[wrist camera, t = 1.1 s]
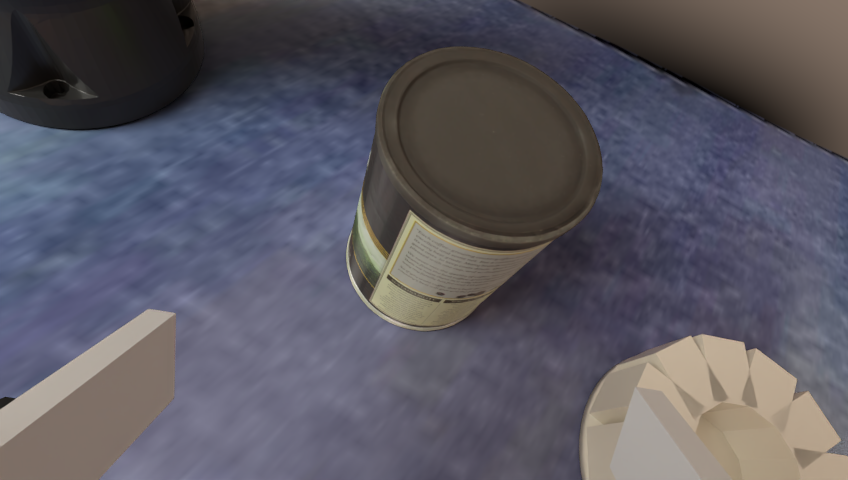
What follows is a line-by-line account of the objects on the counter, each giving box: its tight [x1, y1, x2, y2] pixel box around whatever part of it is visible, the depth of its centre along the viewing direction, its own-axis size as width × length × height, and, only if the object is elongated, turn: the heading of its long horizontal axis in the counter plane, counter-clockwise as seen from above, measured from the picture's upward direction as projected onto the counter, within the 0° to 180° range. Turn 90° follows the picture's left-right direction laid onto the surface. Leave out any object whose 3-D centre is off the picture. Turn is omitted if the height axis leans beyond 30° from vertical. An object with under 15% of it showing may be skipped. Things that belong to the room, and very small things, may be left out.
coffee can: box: [346, 47, 603, 331], centre depth 26 cm, size 10×10×14 cm
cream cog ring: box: [579, 334, 848, 480], centre depth 28 cm, size 15×15×5 cm
